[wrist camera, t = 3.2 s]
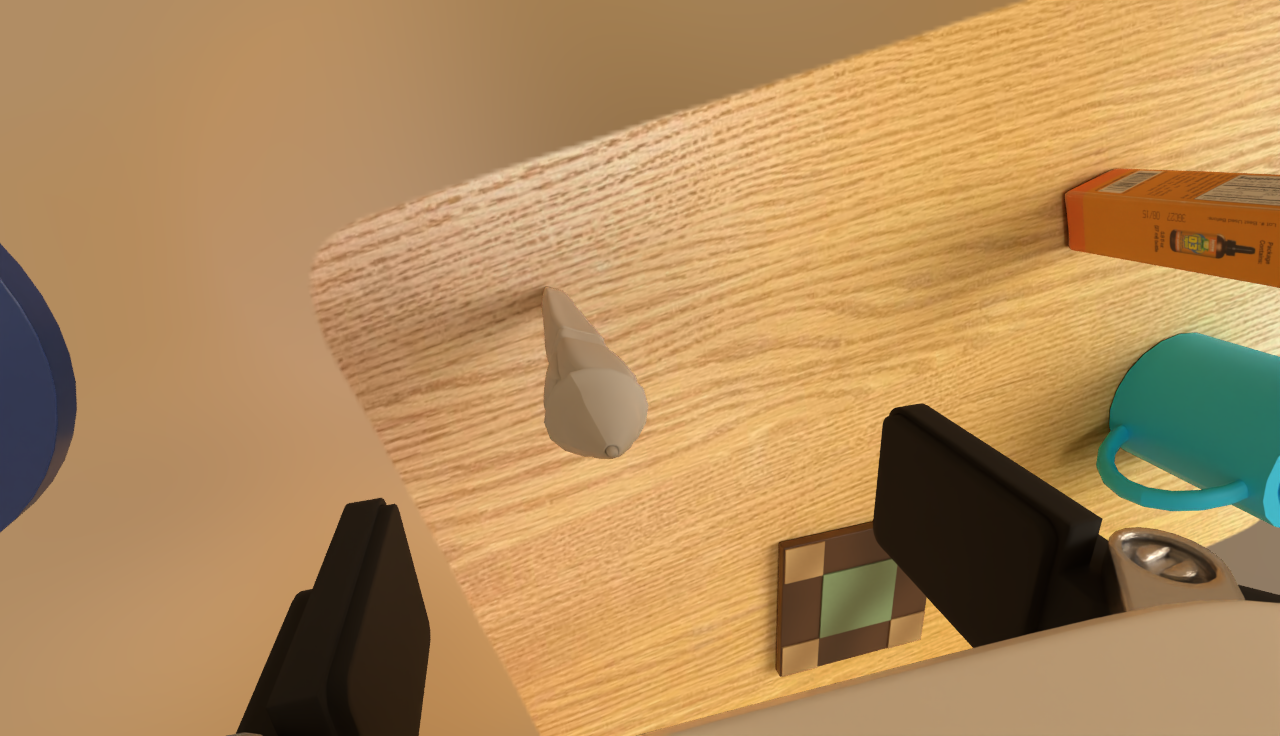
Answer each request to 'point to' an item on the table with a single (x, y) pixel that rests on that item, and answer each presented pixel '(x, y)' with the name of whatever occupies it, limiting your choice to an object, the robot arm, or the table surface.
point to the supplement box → (1182, 221)
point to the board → (841, 600)
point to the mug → (1200, 426)
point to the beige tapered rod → (587, 385)
